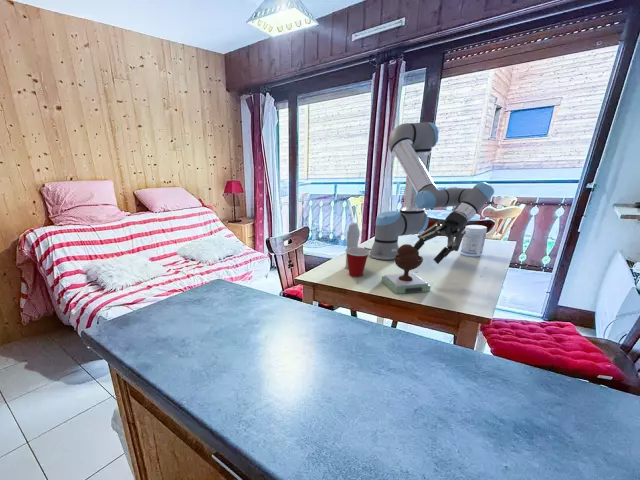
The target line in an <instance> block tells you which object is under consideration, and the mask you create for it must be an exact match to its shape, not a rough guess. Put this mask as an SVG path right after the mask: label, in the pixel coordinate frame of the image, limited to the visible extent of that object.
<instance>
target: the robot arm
mask: <svg viewBox="0 0 640 480" xmlns="http://www.w3.org/2000/svg"><path fill="white" fill-rule="evenodd" d="M439 139H440V131H439V128H438V126H437V125H436V124H435V123H433V122H428V121H423V122H406V123H405V122H404V123H401V124H399V125H397V126H396V127H395V128H393V130H392V131H391V133H390V135H389V137H388V150H389V152H390V153H391V155H392V157H394V158H396V159H397V161H398V162H399V164H400V166H401V168H402V170H403V171H404V173H405V175H406V177H405V187H404V188H405V189H404V198H403V199H404V200H403V206H402V207H401V208H400V209H399V211H398V210H389V211H383V212H381V213H378V214H377V216H376V219H375V227H374V229H375V232H374V242H373V244H372V247H371V248H369V247H365V246H364V247H363V248H364V249H367V250H369V251H370V253H369V257H370V258H371V259H375V260H379V261H395V259H394V256H395V255H397V254H399V253H398V249H399V247H400V246H399V237H404V236H415V235H417V239H418V240H417V241H416V242H415V243H414V245H413V247H414V248H415V249H416V250H418V251H419V250H420V249H421V248H422V247H423V246H424V245H425V242H427V241H430V240H433V239H435V238H436V237H441V236H442V237H446V238H447V243H446V244H447V245H446V246H444V247H443V248H442V249H441V250H440V252H438V254H437V255H436V256H434V258H433V261H434V263H436V264H437V265H439V264H440V263H441V261H442V260H443V259H444V258H446V257H448V255H449V254H450V253H451V252H454V251H455V252H458V251H459V249H460V246H461V245H462V242H463V236H464V234H465V233H466V231H465V228H464V227H466V226H467V225H468V223H469V222H470V221H471V220H472V219H473V218H474V216H475V215H477V213H478V212H479V211H480V210H481V209H482V208H483V207H484V206H485V205H486V204H487V202H489V201H490V199H491V198H492V197H493V195H494V194H495V189H494V188H493V186H492V185H491V184H489V183H487V182H483V181H480V182H477V183H476V184H475V185H474V186H473V187H468V188H467V187H456V186H453V187H447V188H443V189H442V188H441V189H438V187H437V186H436V184H435V183H434V180H433V178H432V177H431V175H430V174H429V172H428V170H427V164H428V163H427V162H428V157H429V155H431V153H432V151H433V148H434V147H436V145H437V144H438V142H439ZM447 207H454V208H453V209H452V211H451V212H450V213H449V214H448V215H447V216H446V217H445V219H444V222H443V223H440V222H439V221H436V222H435V223H434V224H433V225H431V226H430V227H428V225H429V216H428V213H427V212H425V210H432V209H439V208H447Z"/></svg>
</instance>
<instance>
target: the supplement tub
mask: <svg viewBox="0 0 640 480" xmlns="http://www.w3.org/2000/svg"><path fill="white" fill-rule="evenodd" d="M464 227H465V228H464V229H465V231H466V233H465V234H464V235H463V238H462V241H461V248H460V254H461V255H463V256H465V257H473V258H475V257H481V256H482V255H483V251H484V247H485V242H486V237H487V232H488V227H487V226H485V225H480V224H469V225H468V224H467V225H465V226H464Z"/></svg>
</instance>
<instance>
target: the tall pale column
mask: <svg viewBox="0 0 640 480" xmlns="http://www.w3.org/2000/svg"><path fill="white" fill-rule="evenodd" d="M360 230H361V228H360V225H359V222H352V223H350V224H349V225H348V230H347V231H346V243H347V244H346V249H347V248H351V247H359V237H360ZM345 269H348V270H349V268H348V260H347V253H346V254H345Z"/></svg>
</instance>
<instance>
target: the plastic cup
mask: <svg viewBox="0 0 640 480" xmlns="http://www.w3.org/2000/svg"><path fill="white" fill-rule="evenodd" d="M344 251H345V252H346V253H347V260H348V274H349V276H351V277H354V278H360V277H362V276H363V274H364V270H365V267H366V263H367V259H368V257H369V256H370V251H371V250H367V249H365V248H364V247H359V246H358V247H351V248H347V247H346V249H345V250H344Z"/></svg>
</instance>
